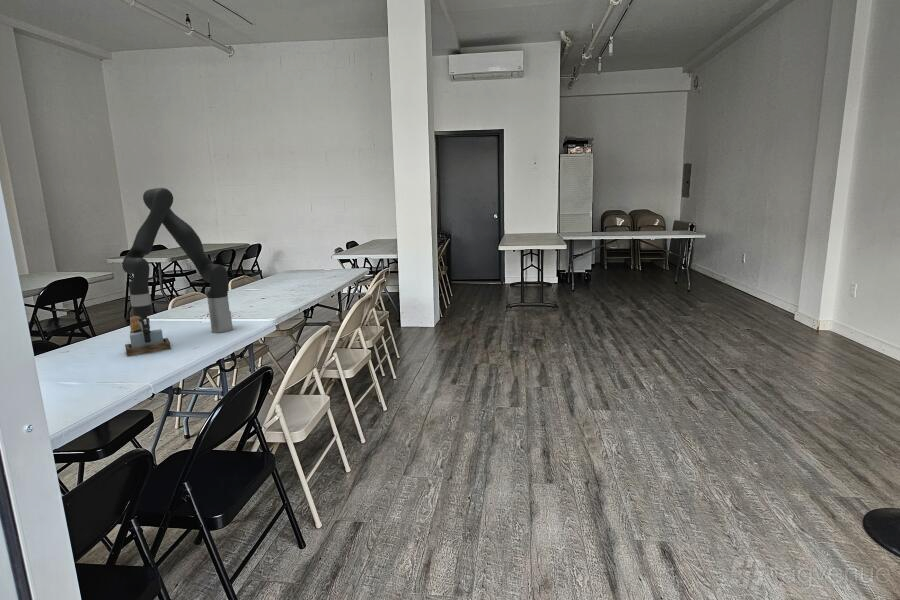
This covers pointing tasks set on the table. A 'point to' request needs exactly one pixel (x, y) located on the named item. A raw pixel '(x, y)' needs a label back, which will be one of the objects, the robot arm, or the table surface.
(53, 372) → the table surface
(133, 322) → the ammunition clip
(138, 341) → the long grey rectangular block
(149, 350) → the cradle jig
